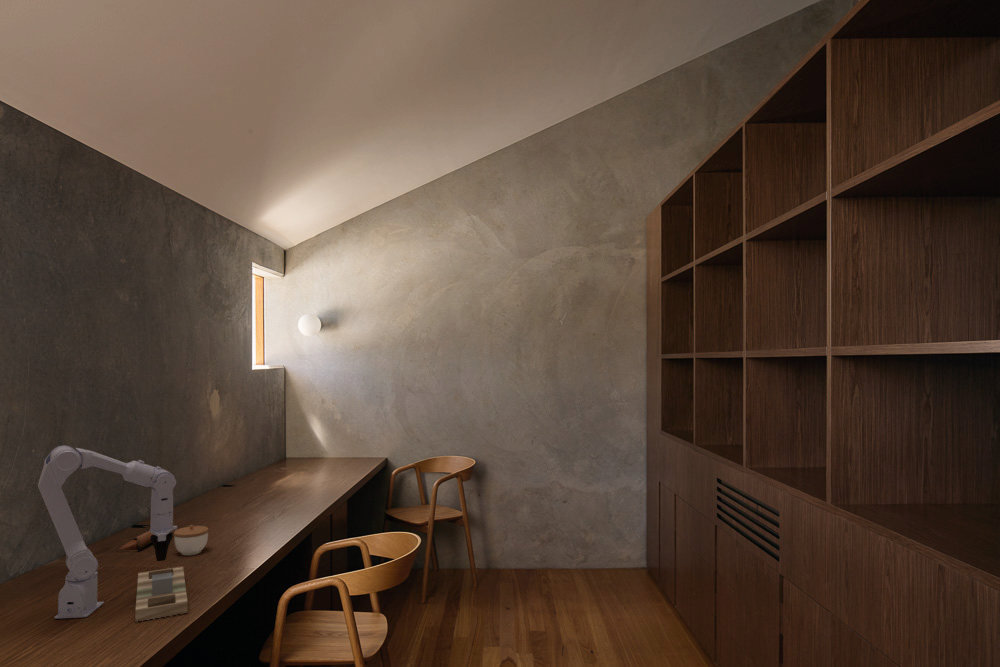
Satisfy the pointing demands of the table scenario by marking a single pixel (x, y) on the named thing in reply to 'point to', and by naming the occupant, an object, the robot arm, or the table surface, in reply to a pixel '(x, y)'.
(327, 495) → the table surface
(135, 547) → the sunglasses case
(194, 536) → the lidded jar
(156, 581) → the block
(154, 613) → the trap deck
